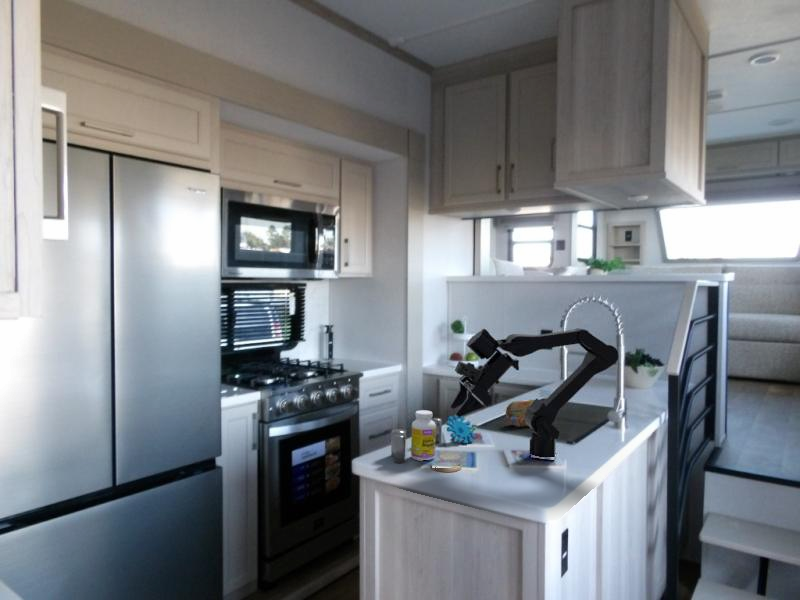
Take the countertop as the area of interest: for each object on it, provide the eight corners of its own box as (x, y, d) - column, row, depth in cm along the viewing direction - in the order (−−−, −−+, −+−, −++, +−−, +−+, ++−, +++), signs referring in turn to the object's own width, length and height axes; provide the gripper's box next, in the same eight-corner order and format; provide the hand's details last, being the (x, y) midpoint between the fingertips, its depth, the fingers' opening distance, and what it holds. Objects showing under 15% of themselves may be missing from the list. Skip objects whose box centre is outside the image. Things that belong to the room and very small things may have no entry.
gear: (454, 441, 169) (444, 412, 175) (444, 452, 172) (434, 423, 179) (483, 442, 174) (472, 414, 181) (473, 452, 178) (463, 424, 184)
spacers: (442, 441, 175) (442, 418, 175) (416, 465, 152) (417, 439, 152) (413, 437, 178) (413, 415, 178) (383, 461, 155) (383, 435, 155)
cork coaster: (464, 464, 154) (464, 463, 154) (456, 474, 146) (456, 472, 146) (435, 460, 156) (435, 459, 156) (426, 470, 149) (426, 468, 149)
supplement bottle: (421, 463, 154) (421, 416, 154) (406, 457, 159) (406, 411, 159) (440, 459, 158) (440, 412, 157) (425, 452, 163) (425, 408, 163)
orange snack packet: (509, 427, 192) (509, 402, 191) (503, 425, 195) (504, 401, 194) (545, 423, 198) (546, 399, 197) (540, 421, 201) (540, 397, 200)
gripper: (466, 346, 167) (429, 385, 167) (479, 355, 149) (437, 399, 149) (493, 372, 168) (456, 411, 168) (509, 384, 150) (468, 428, 149)
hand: (454, 411), depth 158 cm, fingers open, 9 cm apart
